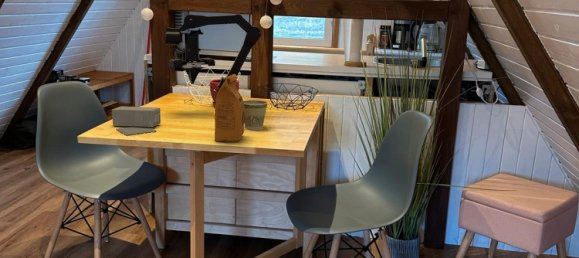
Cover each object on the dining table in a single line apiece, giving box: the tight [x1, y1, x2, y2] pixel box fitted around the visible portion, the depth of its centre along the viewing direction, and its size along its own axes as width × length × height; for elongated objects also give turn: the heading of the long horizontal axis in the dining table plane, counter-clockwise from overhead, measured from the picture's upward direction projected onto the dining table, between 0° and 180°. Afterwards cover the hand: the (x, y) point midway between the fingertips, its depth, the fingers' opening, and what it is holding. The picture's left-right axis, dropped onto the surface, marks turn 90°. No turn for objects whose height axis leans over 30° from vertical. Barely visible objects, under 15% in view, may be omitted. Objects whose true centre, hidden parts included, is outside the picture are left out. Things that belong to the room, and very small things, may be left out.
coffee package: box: [214, 74, 245, 142], centre depth 178 cm, size 10×12×22 cm
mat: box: [115, 126, 157, 137], centre depth 187 cm, size 11×10×1 cm
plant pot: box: [209, 78, 240, 107], centre depth 235 cm, size 13×13×12 cm
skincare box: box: [111, 105, 162, 128], centre depth 194 cm, size 8×7×16 cm
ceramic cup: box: [243, 99, 268, 131], centre depth 197 cm, size 13×10×10 cm
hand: (192, 83), depth 214 cm, fingers closed
